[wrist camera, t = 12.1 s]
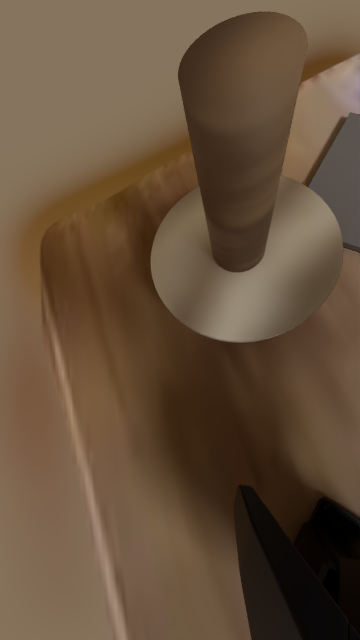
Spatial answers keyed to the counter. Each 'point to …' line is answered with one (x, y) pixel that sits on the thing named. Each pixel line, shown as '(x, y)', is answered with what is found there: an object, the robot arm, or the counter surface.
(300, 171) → the counter surface
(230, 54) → the lid
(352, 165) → the mat
